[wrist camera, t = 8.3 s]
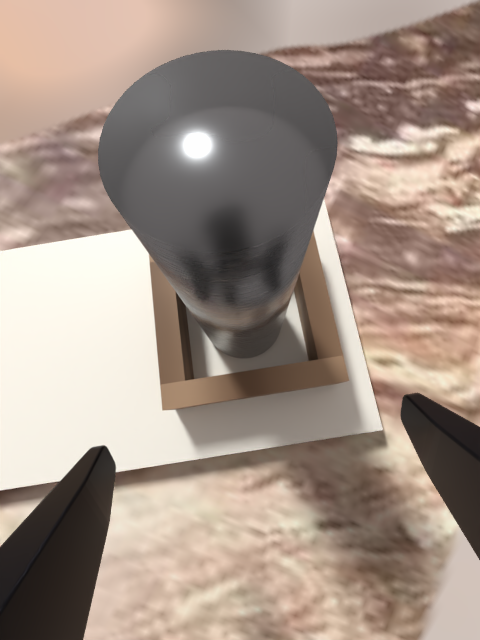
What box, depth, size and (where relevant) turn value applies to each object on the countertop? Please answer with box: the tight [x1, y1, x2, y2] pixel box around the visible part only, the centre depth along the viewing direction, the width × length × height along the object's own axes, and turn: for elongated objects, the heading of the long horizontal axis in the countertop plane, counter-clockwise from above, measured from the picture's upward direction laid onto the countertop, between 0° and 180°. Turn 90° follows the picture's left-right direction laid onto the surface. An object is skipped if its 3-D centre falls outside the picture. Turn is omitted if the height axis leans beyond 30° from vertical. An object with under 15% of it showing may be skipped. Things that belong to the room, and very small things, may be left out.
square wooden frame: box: [149, 231, 349, 411], centre depth 17 cm, size 9×9×2 cm
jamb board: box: [0, 199, 383, 490], centre depth 19 cm, size 23×14×1 cm, turn 99°
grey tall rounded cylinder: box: [98, 50, 337, 358], centre depth 12 cm, size 4×4×13 cm
